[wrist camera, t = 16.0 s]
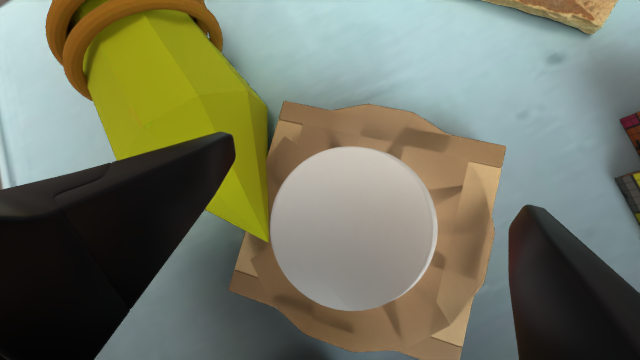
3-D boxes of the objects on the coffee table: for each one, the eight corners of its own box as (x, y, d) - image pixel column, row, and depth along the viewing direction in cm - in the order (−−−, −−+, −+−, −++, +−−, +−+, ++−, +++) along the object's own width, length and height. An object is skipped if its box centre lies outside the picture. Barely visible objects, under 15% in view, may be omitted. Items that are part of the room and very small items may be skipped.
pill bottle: (412, 178, 19) (466, 121, 8) (410, 277, 18) (465, 358, 7) (317, 174, 20) (253, 119, 9) (311, 267, 19) (233, 326, 9)
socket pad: (448, 368, 17) (460, 393, 15) (237, 293, 20) (218, 303, 18) (498, 144, 18) (517, 132, 16) (292, 102, 21) (282, 86, 19)
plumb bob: (349, 189, 20) (163, -88, 22) (301, 218, 11) (5, -239, 14) (253, 254, 23) (95, 0, 25) (155, 316, 14) (-72, -79, 16)
